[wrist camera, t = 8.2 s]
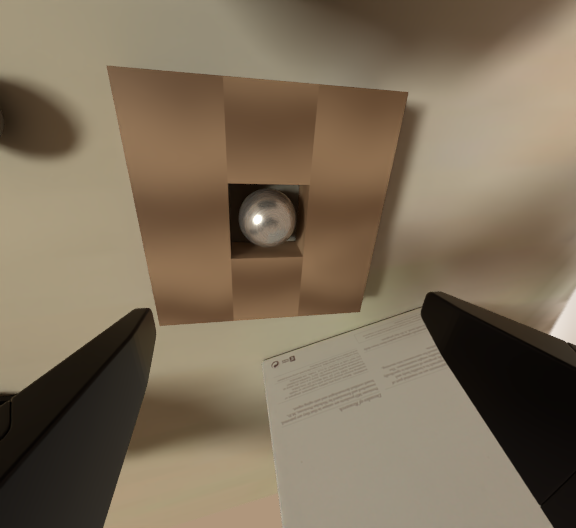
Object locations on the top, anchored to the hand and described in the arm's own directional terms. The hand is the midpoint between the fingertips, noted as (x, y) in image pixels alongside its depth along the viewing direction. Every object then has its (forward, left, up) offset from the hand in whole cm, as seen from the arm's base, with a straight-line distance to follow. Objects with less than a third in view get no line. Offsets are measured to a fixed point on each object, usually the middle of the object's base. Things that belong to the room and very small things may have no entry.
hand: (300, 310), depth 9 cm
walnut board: (0, 0, -11) cm, 11 cm away
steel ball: (0, 0, -9) cm, 9 cm away
